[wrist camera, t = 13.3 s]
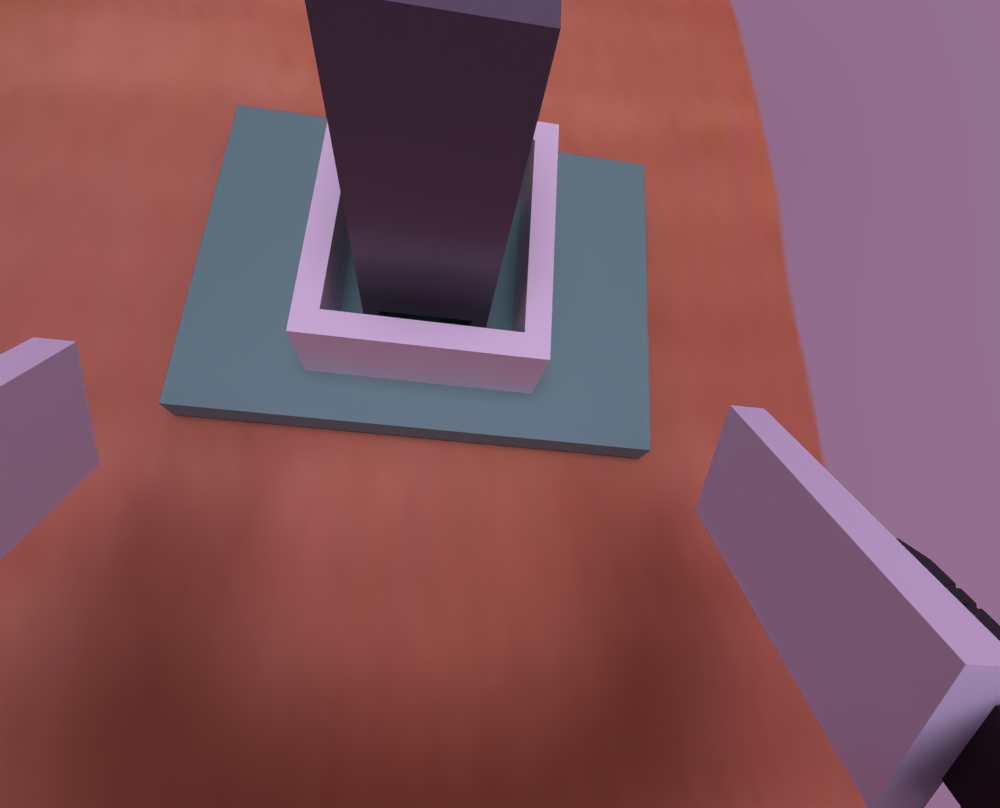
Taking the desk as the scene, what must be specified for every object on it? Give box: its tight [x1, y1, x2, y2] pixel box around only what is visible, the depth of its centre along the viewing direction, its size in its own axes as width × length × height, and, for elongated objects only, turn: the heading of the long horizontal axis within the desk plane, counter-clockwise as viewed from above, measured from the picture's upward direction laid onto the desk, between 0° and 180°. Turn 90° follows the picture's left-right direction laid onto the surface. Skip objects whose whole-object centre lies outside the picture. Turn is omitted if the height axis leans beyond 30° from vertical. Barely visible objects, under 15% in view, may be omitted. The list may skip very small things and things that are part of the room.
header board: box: [159, 105, 651, 458], centre depth 21 cm, size 16×12×4 cm
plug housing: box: [305, 0, 561, 328], centre depth 16 cm, size 4×5×12 cm
